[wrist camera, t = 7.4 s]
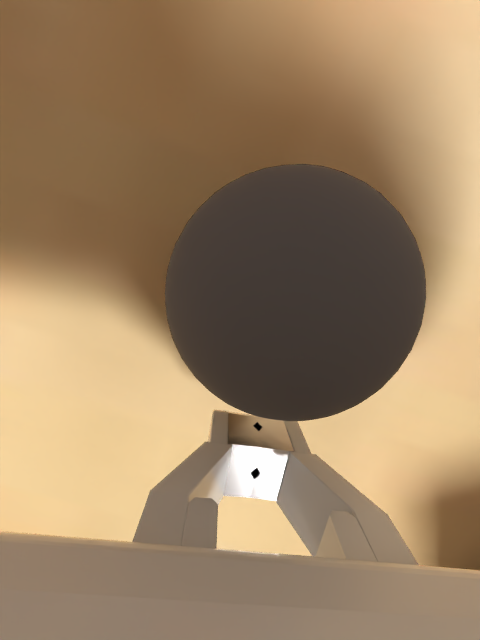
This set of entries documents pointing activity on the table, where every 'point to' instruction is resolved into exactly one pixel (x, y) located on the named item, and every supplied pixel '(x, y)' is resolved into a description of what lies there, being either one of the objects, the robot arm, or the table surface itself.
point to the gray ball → (295, 292)
